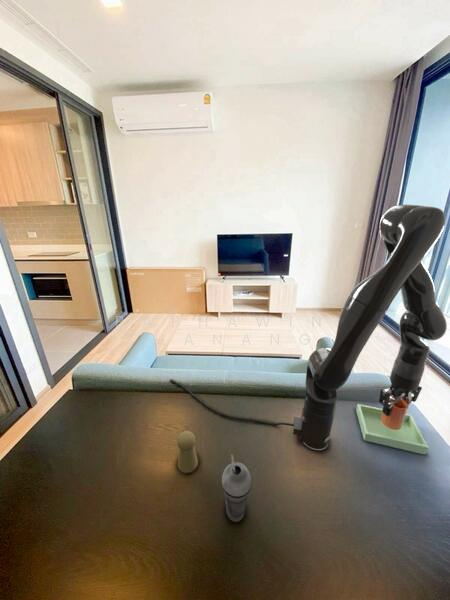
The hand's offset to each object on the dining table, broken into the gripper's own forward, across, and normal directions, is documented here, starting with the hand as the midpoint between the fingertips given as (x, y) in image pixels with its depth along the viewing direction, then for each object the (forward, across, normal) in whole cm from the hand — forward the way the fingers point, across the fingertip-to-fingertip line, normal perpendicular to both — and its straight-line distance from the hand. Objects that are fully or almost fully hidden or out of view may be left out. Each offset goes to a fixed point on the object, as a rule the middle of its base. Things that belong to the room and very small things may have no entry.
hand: (394, 412), depth 82 cm
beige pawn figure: (+8, +69, -4) cm, 70 cm away
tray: (+8, 0, 0) cm, 8 cm away
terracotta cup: (+5, 0, 0) cm, 5 cm away
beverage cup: (+8, +58, +11) cm, 60 cm away
